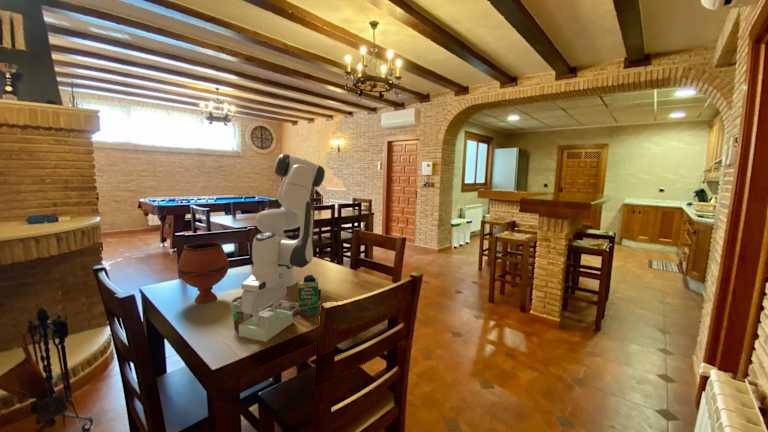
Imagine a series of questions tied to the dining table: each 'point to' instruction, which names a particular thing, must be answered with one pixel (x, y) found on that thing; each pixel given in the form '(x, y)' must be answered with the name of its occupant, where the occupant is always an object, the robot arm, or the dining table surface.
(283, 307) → the pale grey cube
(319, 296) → the beige square canister
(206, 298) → the goblet
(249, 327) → the sage bin
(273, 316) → the off-white cube
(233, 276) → the dining table surface
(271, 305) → the beech tray
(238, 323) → the food container
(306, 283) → the coffee box
